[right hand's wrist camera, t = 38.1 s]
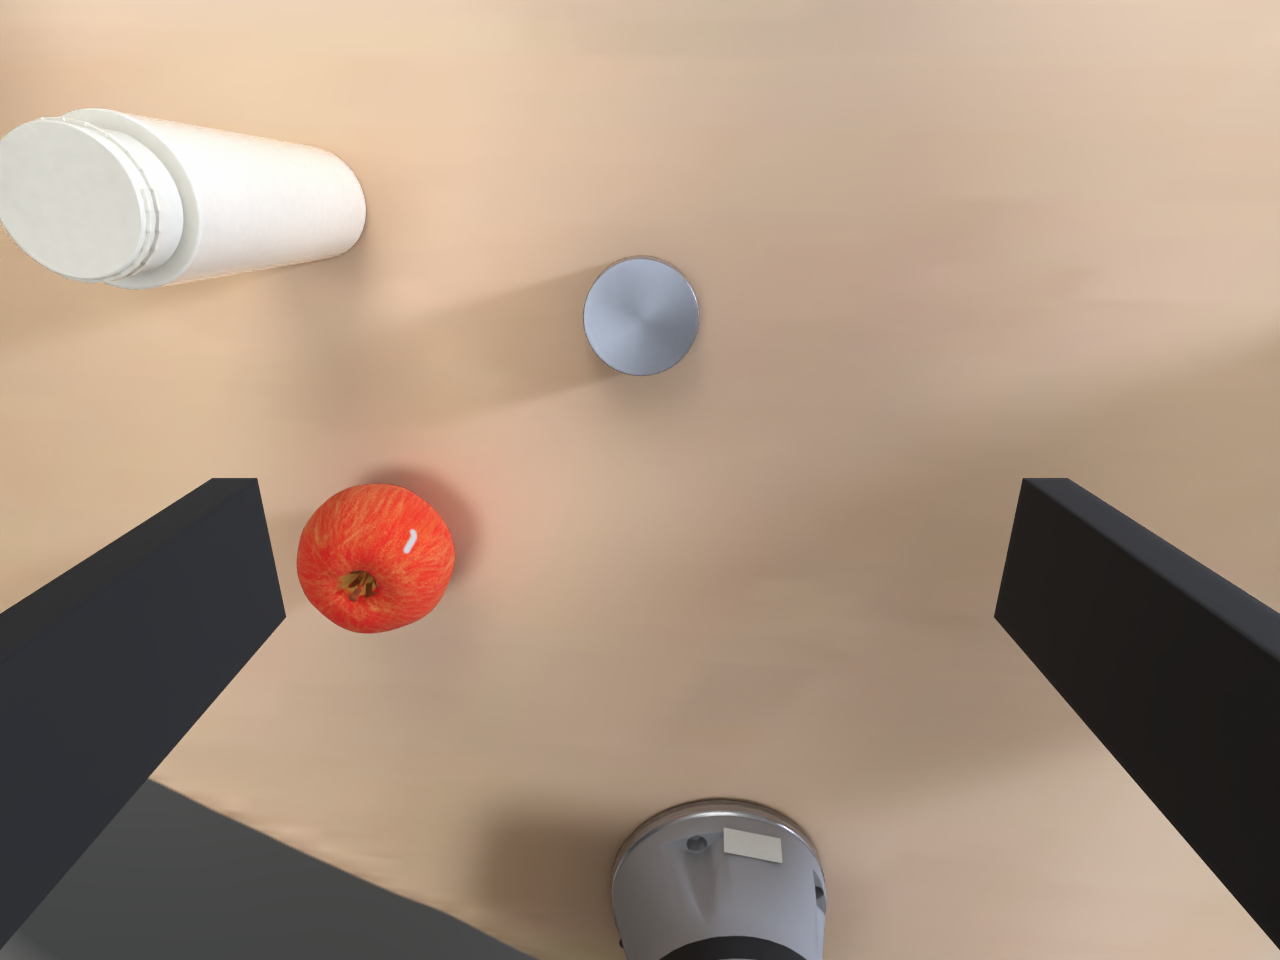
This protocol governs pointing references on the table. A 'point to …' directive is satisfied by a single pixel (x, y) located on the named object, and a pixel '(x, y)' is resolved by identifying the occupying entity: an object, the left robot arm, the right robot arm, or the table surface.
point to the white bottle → (170, 199)
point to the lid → (641, 316)
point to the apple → (375, 558)
